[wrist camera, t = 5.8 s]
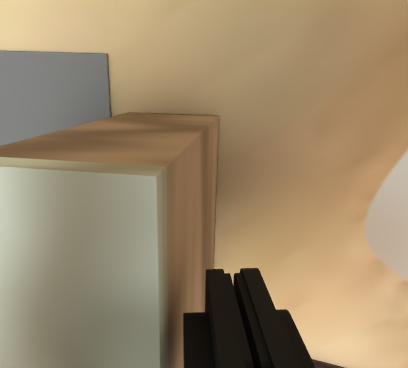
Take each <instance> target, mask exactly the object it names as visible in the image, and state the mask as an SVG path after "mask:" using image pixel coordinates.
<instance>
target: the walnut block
mask: <svg viewBox="0 0 408 368" xmlns="http://www.w3.org/2000/svg"><path fill="white" fill-rule="evenodd" d="M218 131H219V116H208V115H182V114H157V113H131V112H129V113H125V114H121V115H118V116H114V117H110V118H106V119H102V120H98V121H94V122H91V123H87V124H83V125H79V126H75V127H71V128H67V129H64V130H60V131H56V132H52V133H48V134H44V135H40V136H37V137H33V138H29V139H25V140H21V141H17V142H13V143H10V144H6V145H2V146H0V368H184V360H183V313H193V312H205V279H206V269H214V243H215V215H216V187H217V159H218Z"/></svg>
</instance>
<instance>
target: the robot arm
mask: <svg viewBox="0 0 408 368" xmlns="http://www.w3.org/2000/svg"><path fill="white" fill-rule="evenodd" d="M183 360H184V368H315V365H314V363H313V361H312V359H311V357H310V355H309V353H308V351H307V349H306V346H305V344H304V342H303V340H302V338H301V336H300V334H299V332H298V329H297V327H296V325H295V323H294V321H293V319H292V317H291V315H290V313H289V311H288V310H286V309H285V310H276V309H275V307H274V304H273V302H272V300H271V297H270V295H269V292H268V290H267V288H266V285H265V283H264V280H263V278H262V276H261V273H260V271H259V269H258V268H243V269H240V273H235V274H234V286H233V283H232V279H231V276H230V273H226V274H224V270H223V269H206V279H205V312H193V313H183Z"/></svg>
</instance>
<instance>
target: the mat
mask: <svg viewBox="0 0 408 368" xmlns="http://www.w3.org/2000/svg"><path fill="white" fill-rule="evenodd" d="M110 117H111V107H110V90H109V73H108V55H107V54H98V53H63V52H28V51H0V146H2V145H6V144H10V143H13V142H17V141H21V140H25V139H29V138H33V137H37V136H40V135H44V134H48V133H52V132H56V131H60V130H64V129H67V128H71V127H75V126H79V125H83V124H87V123H91V122H94V121H98V120H102V119H106V118H110Z"/></svg>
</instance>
